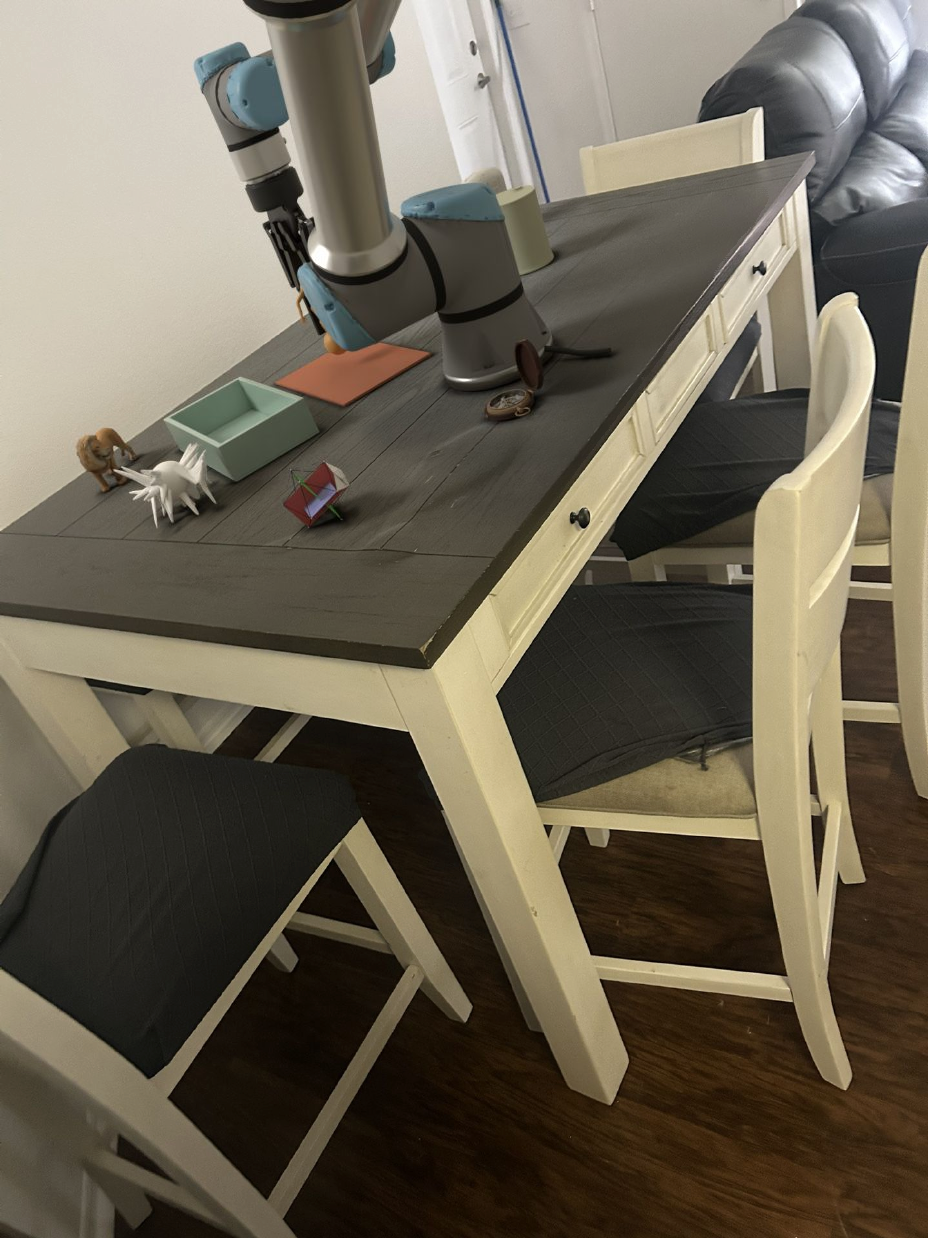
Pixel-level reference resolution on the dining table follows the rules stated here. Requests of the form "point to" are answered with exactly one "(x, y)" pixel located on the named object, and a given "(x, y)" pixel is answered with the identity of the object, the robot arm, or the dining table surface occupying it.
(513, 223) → the can
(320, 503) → the geometric puzzle
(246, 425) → the basin
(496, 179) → the white curved piece
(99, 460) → the lion figurine
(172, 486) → the spiky ball
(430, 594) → the dining table surface
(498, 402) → the compass
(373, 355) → the mat
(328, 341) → the figurine
